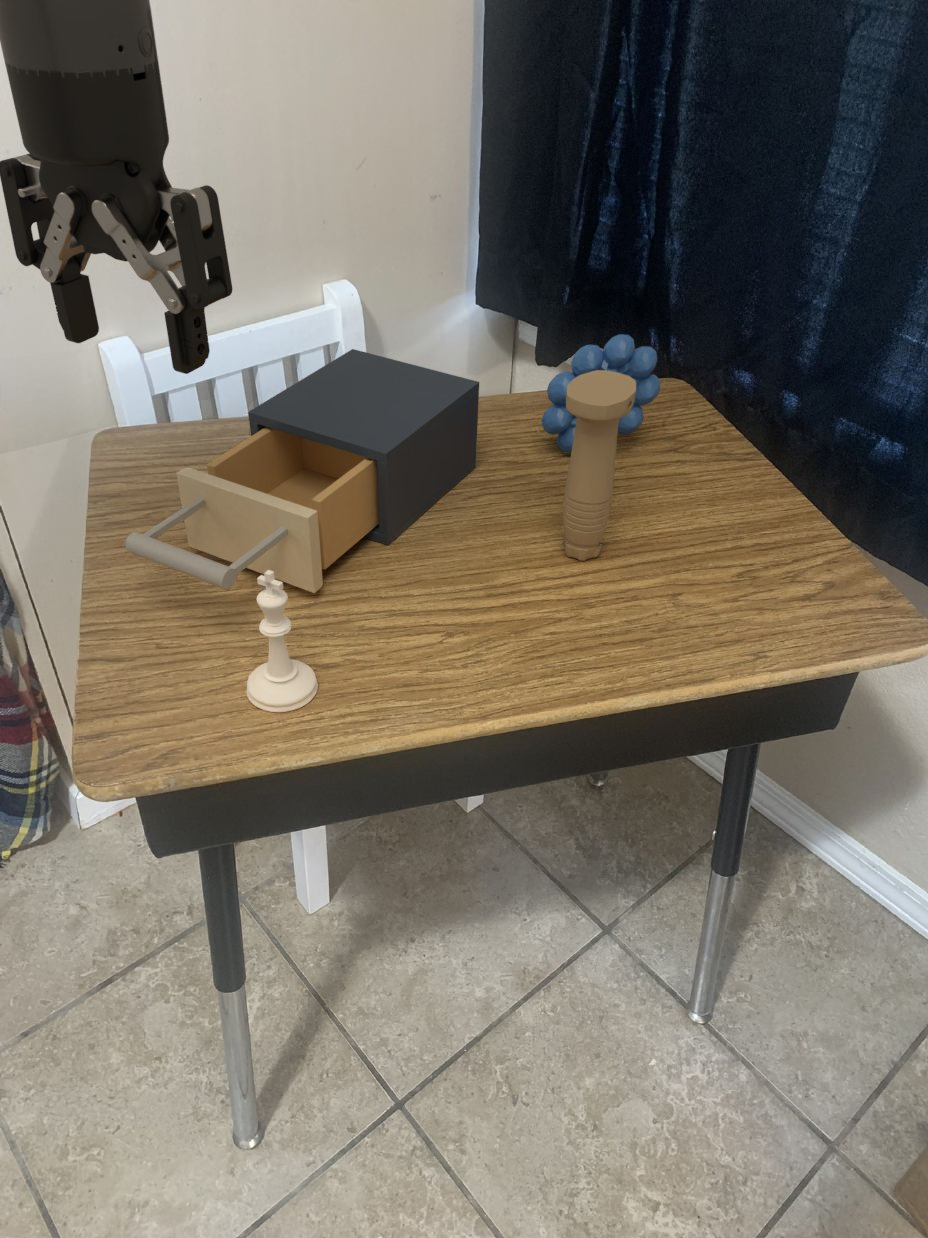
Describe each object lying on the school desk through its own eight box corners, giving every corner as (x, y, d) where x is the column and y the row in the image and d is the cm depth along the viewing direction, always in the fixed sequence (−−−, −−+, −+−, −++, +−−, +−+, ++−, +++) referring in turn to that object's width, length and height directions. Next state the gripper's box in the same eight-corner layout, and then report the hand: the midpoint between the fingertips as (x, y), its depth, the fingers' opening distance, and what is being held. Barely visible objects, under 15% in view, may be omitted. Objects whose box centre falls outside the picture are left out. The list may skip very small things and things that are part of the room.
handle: (622, 542, 84) (647, 379, 75) (591, 579, 80) (614, 411, 71) (571, 526, 86) (590, 365, 77) (538, 561, 82) (554, 395, 73)
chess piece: (273, 657, 71) (259, 543, 65) (331, 678, 70) (322, 563, 63) (232, 698, 68) (213, 581, 61) (292, 721, 66) (279, 604, 60)
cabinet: (388, 545, 83) (386, 453, 78) (258, 501, 88) (247, 411, 83) (476, 467, 94) (479, 381, 89) (356, 431, 99) (352, 348, 94)
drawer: (250, 648, 70) (239, 570, 66) (119, 595, 75) (101, 518, 71) (411, 508, 86) (411, 437, 82) (295, 470, 91) (289, 402, 86)
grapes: (634, 427, 102) (651, 314, 94) (659, 458, 97) (679, 341, 89) (526, 436, 99) (535, 321, 92) (546, 469, 94) (557, 350, 87)
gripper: (-78, 45, 50) (3, 349, 60) (137, 77, 45) (187, 402, 55) (35, 30, 55) (93, 311, 65) (238, 57, 50) (267, 357, 60)
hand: (136, 353), depth 60 cm, fingers open, 8 cm apart
